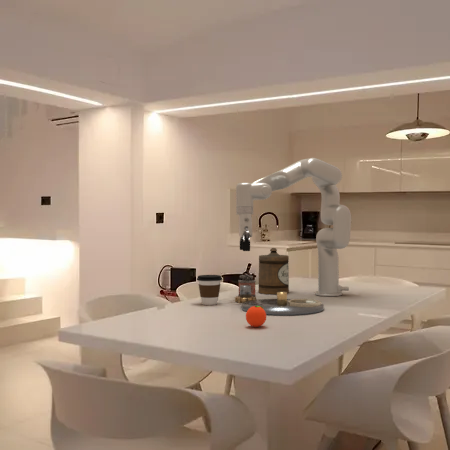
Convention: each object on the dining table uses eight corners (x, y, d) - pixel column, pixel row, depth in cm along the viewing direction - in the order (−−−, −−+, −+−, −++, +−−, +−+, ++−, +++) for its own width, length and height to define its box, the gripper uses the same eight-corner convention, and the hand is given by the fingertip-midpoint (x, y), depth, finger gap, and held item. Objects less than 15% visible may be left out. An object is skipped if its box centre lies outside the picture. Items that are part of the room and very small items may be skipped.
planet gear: (254, 300, 243) (254, 284, 243) (257, 303, 234) (257, 286, 234) (233, 300, 242) (233, 284, 242) (236, 303, 233) (236, 287, 233)
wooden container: (288, 294, 259) (287, 248, 259) (257, 294, 262) (256, 248, 261) (289, 290, 274) (289, 247, 274) (260, 290, 276) (259, 247, 276)
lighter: (255, 296, 256) (255, 274, 256) (255, 297, 252) (255, 275, 252) (238, 296, 256) (238, 274, 256) (238, 297, 253) (237, 275, 253)
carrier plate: (311, 301, 238) (311, 286, 238) (334, 314, 205) (334, 297, 205) (236, 303, 234) (236, 288, 234) (247, 316, 201) (247, 299, 201)
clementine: (255, 323, 188) (255, 302, 188) (272, 325, 184) (272, 304, 184) (241, 327, 182) (241, 305, 182) (258, 329, 178) (258, 307, 178)
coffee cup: (219, 306, 226) (219, 277, 226) (193, 305, 228) (193, 277, 228) (224, 302, 237) (224, 274, 237) (200, 301, 239) (200, 274, 239)
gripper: (256, 210, 230) (256, 251, 230) (250, 211, 247) (250, 249, 247) (238, 210, 229) (238, 251, 229) (233, 211, 246) (234, 249, 246)
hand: (244, 250), depth 238 cm, fingers open, 9 cm apart
